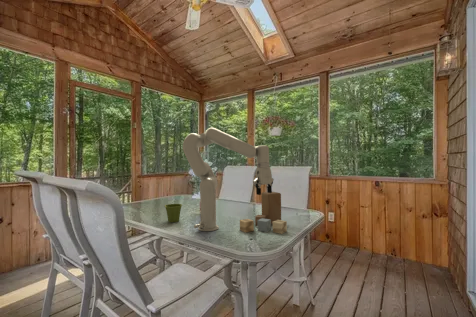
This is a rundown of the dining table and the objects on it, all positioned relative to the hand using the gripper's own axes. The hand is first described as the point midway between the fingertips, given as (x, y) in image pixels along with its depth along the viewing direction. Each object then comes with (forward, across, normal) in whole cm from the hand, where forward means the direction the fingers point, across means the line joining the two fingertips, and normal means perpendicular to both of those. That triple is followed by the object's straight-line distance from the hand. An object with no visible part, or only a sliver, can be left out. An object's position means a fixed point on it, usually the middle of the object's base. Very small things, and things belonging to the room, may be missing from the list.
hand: (264, 193), depth 143 cm
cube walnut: (+22, +4, +8) cm, 23 cm away
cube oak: (+21, -10, +6) cm, 24 cm away
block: (+22, +15, +8) cm, 27 cm away
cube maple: (+22, +2, -9) cm, 24 cm away
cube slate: (+22, -2, 0) cm, 22 cm away
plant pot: (+20, -32, +56) cm, 68 cm away
